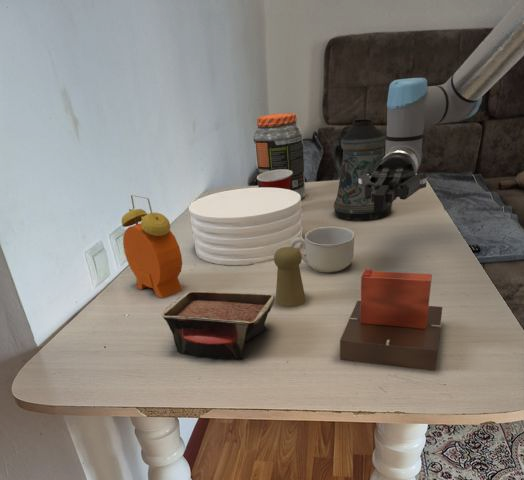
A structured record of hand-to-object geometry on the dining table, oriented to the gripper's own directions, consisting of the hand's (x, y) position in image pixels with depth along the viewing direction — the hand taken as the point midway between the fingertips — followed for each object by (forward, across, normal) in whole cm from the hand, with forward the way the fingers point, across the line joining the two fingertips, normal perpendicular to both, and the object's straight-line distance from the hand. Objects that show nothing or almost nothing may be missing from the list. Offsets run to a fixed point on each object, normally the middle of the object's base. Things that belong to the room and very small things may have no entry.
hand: (378, 203), depth 79 cm
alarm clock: (-2, +47, -20) cm, 51 cm away
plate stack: (-31, +37, -20) cm, 53 cm away
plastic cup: (-60, +40, -20) cm, 75 cm away
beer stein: (-60, +14, -20) cm, 65 cm away
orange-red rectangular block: (+11, -5, -15) cm, 20 cm away
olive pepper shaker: (0, +16, -20) cm, 26 cm away
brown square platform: (+12, -5, -20) cm, 23 cm away
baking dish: (+17, +23, -20) cm, 35 cm away
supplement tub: (-77, +44, -20) cm, 91 cm away
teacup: (-18, +14, -20) cm, 31 cm away
